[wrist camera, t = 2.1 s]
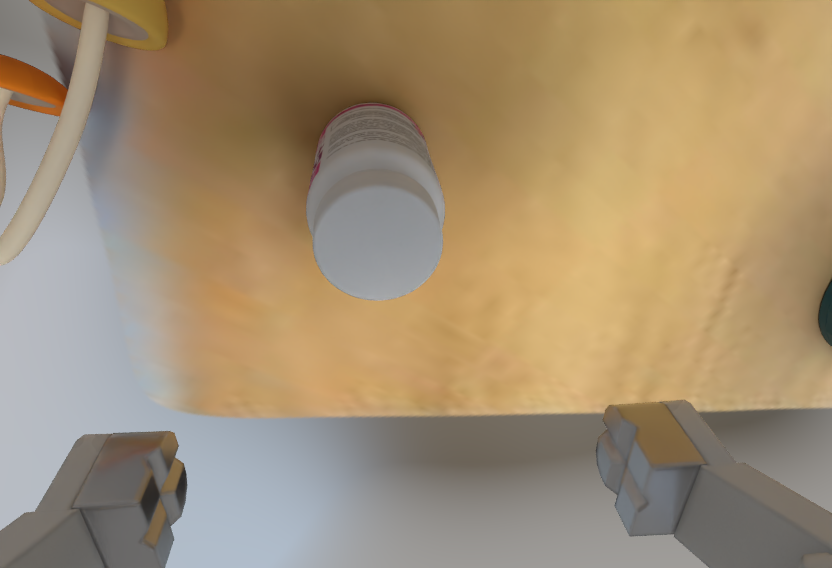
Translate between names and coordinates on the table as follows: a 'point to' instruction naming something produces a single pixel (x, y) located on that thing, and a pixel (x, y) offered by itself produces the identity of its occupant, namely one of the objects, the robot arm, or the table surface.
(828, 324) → the jar
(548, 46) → the table surface
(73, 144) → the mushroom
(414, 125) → the pill bottle
